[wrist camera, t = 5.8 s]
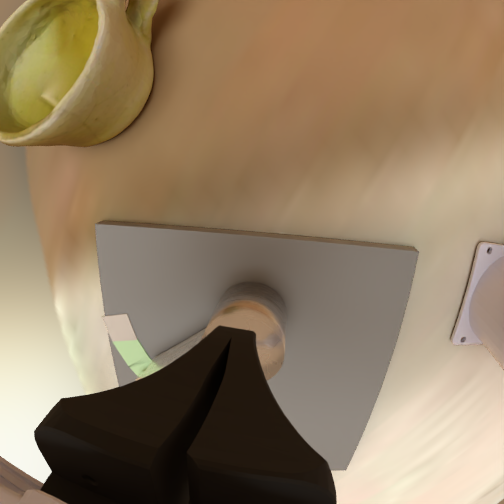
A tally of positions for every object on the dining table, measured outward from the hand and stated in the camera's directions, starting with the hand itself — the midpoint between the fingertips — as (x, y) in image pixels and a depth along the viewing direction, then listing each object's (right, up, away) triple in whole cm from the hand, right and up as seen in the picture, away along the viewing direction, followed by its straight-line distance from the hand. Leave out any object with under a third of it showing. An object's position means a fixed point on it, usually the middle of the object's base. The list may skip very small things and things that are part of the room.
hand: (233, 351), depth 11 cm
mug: (-8, +16, +7) cm, 19 cm away
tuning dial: (-3, -3, +10) cm, 11 cm away
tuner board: (0, -6, +12) cm, 13 cm away
